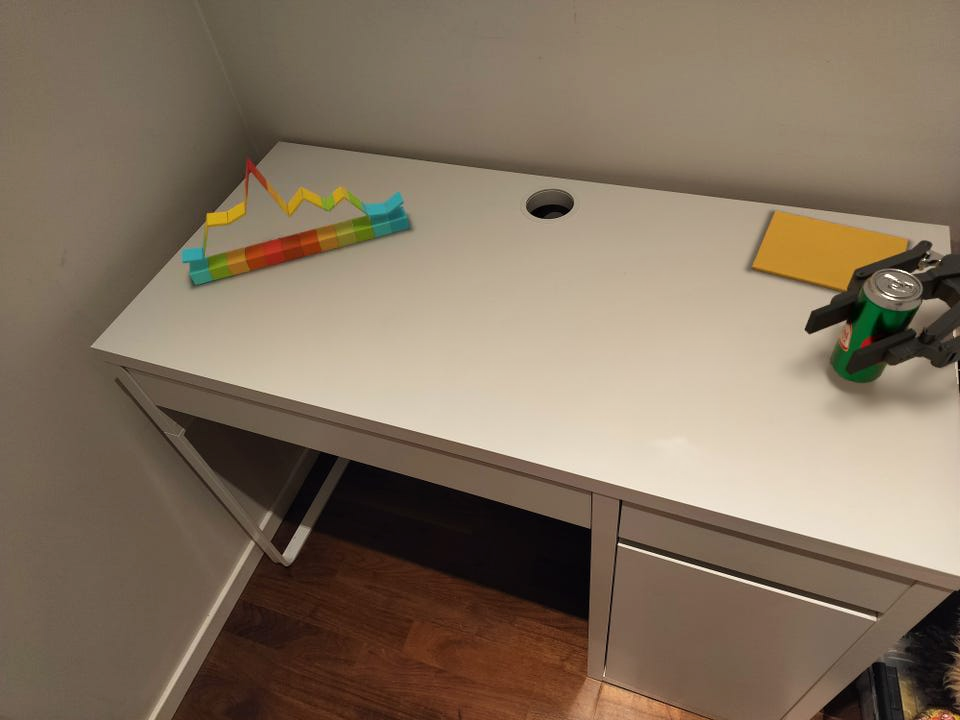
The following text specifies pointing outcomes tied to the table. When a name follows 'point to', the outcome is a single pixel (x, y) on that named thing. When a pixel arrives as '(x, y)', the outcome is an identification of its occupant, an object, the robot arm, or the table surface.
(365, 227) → the chart
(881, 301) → the soda can
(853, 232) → the orange flat board
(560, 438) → the table surface
